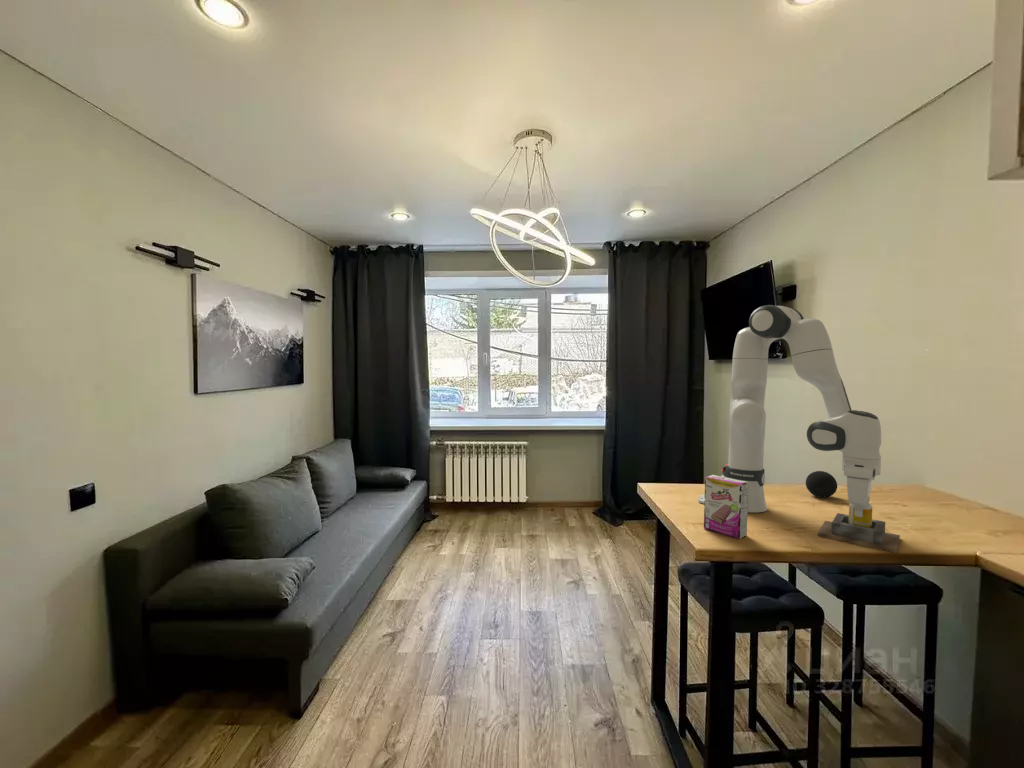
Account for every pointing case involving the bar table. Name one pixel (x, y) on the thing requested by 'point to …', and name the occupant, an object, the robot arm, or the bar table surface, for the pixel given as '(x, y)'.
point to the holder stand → (860, 533)
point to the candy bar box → (726, 506)
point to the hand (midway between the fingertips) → (859, 513)
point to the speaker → (821, 484)
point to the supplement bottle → (865, 519)
